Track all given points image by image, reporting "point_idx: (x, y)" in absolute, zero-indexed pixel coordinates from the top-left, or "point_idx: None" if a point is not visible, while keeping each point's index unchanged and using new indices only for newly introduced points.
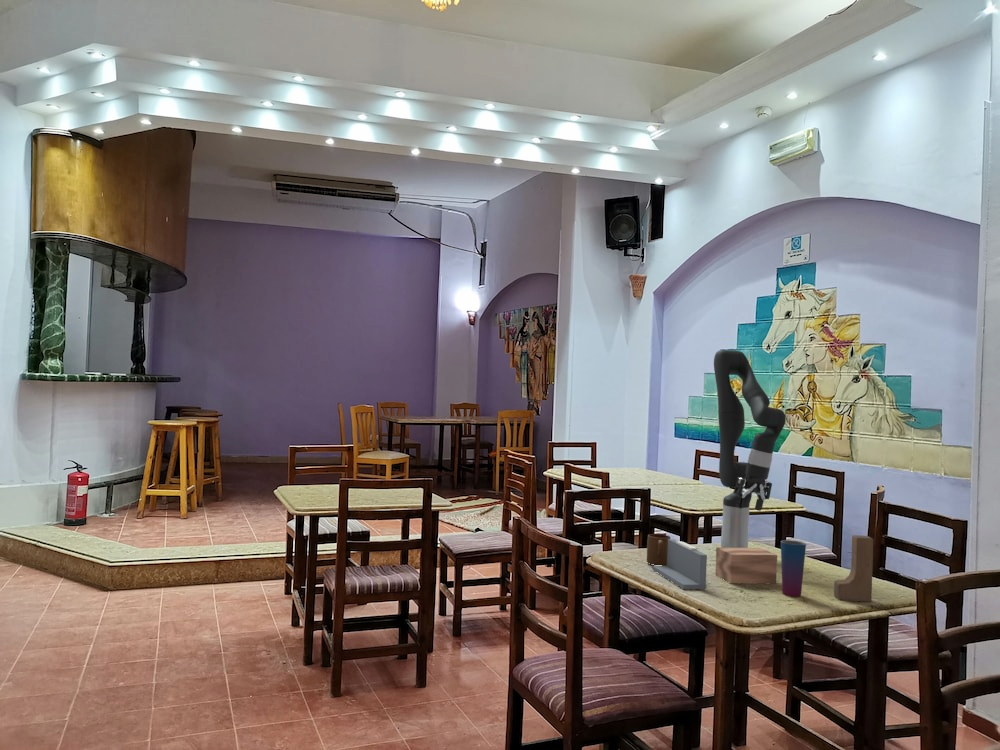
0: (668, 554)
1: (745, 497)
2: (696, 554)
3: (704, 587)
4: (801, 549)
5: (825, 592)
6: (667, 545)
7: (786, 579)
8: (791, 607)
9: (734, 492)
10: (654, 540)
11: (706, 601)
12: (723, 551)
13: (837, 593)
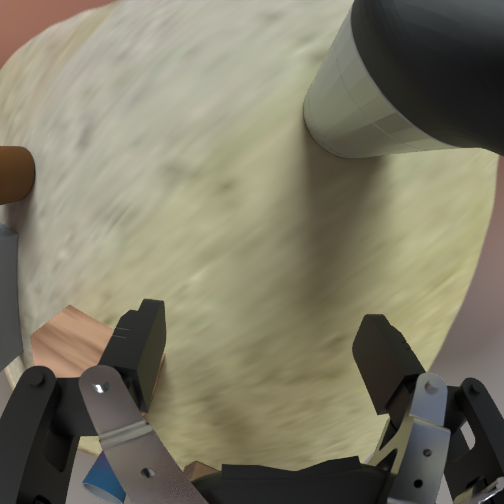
0: None
1: (501, 134)
2: None
3: (20, 351)
4: (108, 496)
5: (200, 451)
6: None
7: None
8: (94, 442)
9: (28, 382)
10: None
11: (13, 376)
12: (34, 362)
13: (184, 471)
